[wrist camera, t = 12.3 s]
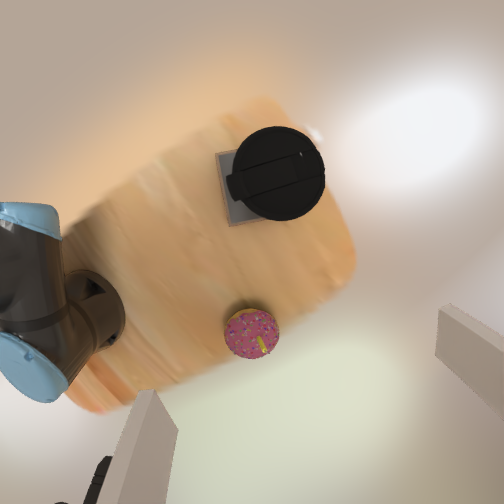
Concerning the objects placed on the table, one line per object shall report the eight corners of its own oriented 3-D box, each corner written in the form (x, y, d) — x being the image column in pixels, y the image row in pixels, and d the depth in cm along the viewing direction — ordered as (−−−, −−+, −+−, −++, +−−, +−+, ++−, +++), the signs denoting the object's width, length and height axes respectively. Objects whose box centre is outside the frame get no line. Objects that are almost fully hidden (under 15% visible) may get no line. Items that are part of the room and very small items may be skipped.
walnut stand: (230, 222, 43) (228, 227, 37) (217, 158, 41) (214, 153, 35) (294, 210, 43) (302, 213, 37) (282, 147, 41) (289, 140, 35)
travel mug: (226, 168, 35) (211, 141, 16) (274, 153, 35) (313, 112, 16) (241, 213, 37) (244, 238, 17) (289, 198, 37) (343, 205, 17)
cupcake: (252, 288, 45) (257, 321, 34) (286, 322, 47) (299, 361, 35) (214, 320, 46) (208, 360, 34) (248, 351, 48) (252, 395, 36)
